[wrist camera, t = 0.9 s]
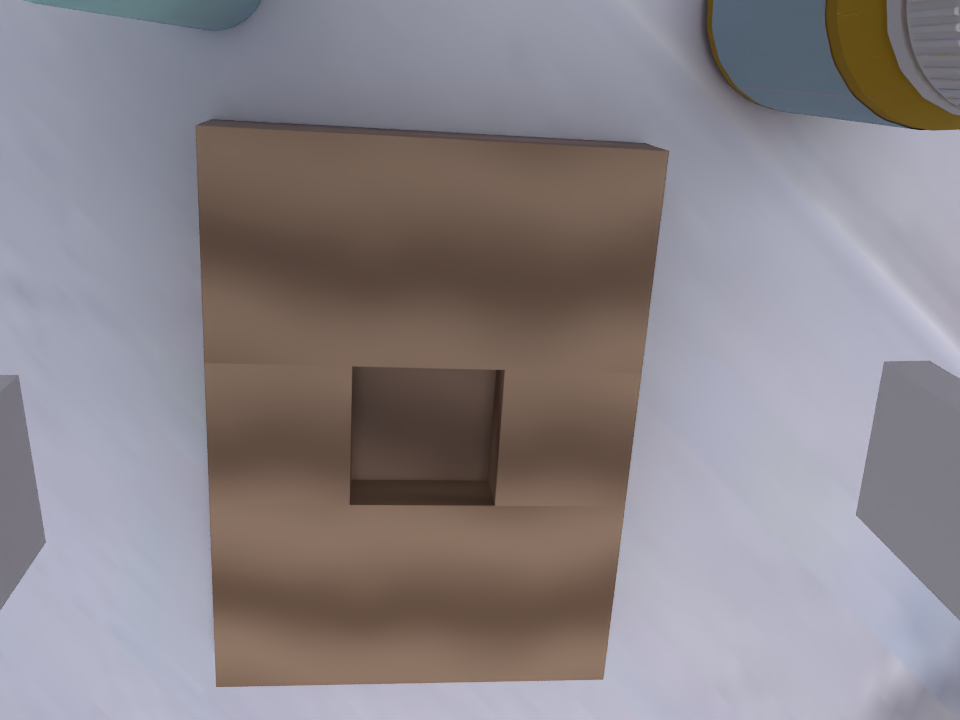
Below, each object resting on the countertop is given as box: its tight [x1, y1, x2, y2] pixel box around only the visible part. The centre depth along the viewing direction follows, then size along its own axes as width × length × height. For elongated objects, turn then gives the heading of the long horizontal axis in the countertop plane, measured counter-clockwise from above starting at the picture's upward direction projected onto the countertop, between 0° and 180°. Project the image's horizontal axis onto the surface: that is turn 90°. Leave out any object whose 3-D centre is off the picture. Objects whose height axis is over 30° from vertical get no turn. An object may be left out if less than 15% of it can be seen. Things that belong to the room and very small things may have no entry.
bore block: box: [196, 119, 669, 687], centre depth 35 cm, size 22×16×3 cm
